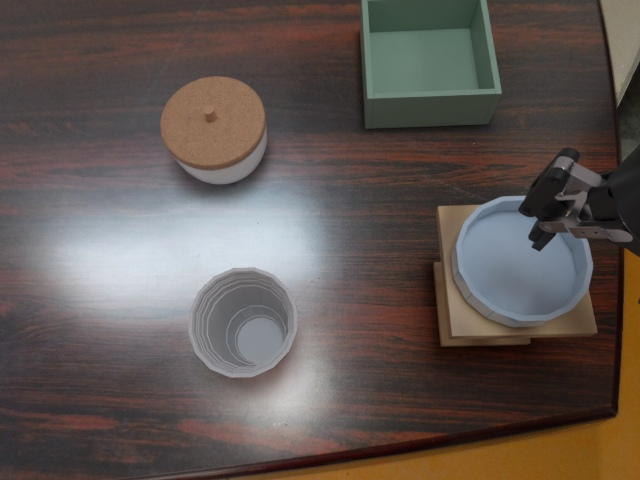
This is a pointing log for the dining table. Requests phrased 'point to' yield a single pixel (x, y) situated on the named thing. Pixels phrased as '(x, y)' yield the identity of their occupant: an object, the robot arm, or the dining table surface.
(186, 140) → the lidded bowl
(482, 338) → the stand
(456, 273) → the light blue shallow dish
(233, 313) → the plastic cup
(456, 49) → the tub
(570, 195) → the robot arm
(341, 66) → the dining table surface
